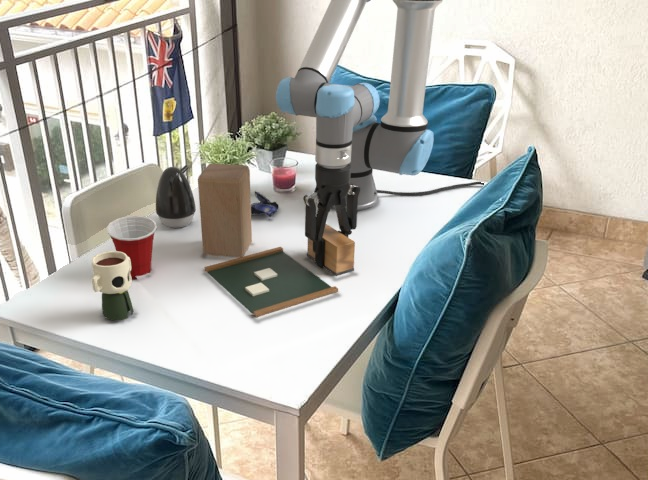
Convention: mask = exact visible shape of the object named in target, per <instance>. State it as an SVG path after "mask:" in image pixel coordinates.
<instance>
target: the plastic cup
mask: <svg viewBox="0 0 648 480" xmlns="http://www.w3.org/2000/svg"><path fill="white" fill-rule="evenodd" d="M157 228H158V227H157V223H156V221H154V220H153V219H152V218H150V217H147V216H144V215H143V216H142V215H125V216H122V217H118V218H115V219H114V220H112V221H110V222H109V224H108V225H107V226H106V232H107V234H108V235H109V237H110V239H111V240H112V243H113V245H114V248H115V251H119V252H123V253H125V254H126V255H127V256H128V257H129V258H130V261H131V271H130V274H131V278H132V280H138V278H137V277H141V276H145V275H147V274H150V273H151V271H152V260H153V250H154V249H153V247H154V237H155V232H156V230H157Z"/></svg>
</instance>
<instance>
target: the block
mask: <svg viewBox="0 0 648 480" xmlns="http://www.w3.org/2000/svg"><path fill="white" fill-rule="evenodd" d="M197 188H198V189H197V190H198V202H199V203H198V204H199V214H200V215H199V217H200V228H201V229H200V230H201V243H202V254H203V255H206V256H217V257H218V256H219V257H230V258H240V257H244V256H246V253H247V251H248V249H250V245H251V244H252V242H253V234H252V233H253V232H252V231H253V230H252V214H251V204H252V203H251V202H252V201H251V199H252V198H251V170H250V167H249V165H245V164H231V163H229V164H228V163H213V162H212V163H209V164H208V165H207V166H206V167H205V168H204V170H203V171H202V172H201V173H200V174H199V175H198V177H197Z"/></svg>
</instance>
